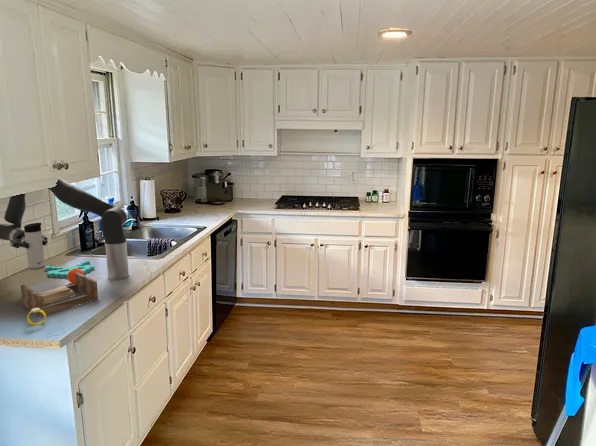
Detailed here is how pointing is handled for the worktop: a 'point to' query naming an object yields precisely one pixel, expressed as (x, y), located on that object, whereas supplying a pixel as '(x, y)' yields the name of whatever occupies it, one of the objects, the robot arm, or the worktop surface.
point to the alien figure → (68, 269)
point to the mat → (42, 287)
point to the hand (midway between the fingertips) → (36, 244)
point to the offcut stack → (56, 295)
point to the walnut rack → (82, 285)
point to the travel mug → (34, 246)
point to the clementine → (73, 274)
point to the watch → (33, 312)
